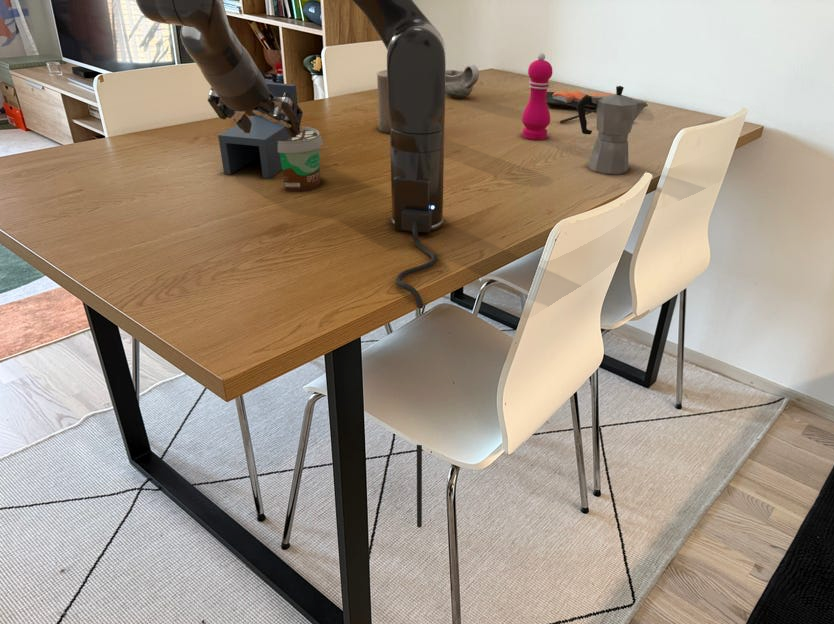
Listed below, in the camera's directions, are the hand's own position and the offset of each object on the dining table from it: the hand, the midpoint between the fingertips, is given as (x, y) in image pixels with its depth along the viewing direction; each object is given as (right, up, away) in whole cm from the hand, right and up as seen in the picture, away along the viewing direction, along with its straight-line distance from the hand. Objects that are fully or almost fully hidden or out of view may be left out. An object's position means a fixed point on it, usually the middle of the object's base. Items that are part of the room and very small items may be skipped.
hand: (271, 130), depth 123 cm
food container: (+2, -5, +20) cm, 21 cm away
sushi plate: (+67, +32, +82) cm, 111 cm away
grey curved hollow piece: (+31, +40, +91) cm, 104 cm away
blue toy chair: (-10, +3, +30) cm, 32 cm away
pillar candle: (+15, +19, +58) cm, 63 cm away
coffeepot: (+65, +4, +38) cm, 75 cm away
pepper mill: (+51, +17, +58) cm, 79 cm away
